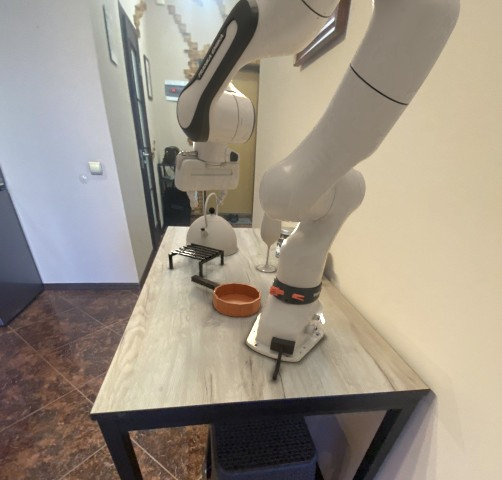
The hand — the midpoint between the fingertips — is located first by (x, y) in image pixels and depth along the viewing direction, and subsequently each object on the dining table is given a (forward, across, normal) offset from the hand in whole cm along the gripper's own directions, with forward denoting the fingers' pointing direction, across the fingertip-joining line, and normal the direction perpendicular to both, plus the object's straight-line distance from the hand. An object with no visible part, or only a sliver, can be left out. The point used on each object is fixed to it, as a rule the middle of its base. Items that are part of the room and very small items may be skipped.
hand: (207, 205), depth 85 cm
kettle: (+27, +22, +24) cm, 43 cm away
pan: (+23, -4, -16) cm, 28 cm away
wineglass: (+24, +26, -6) cm, 36 cm away
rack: (+26, +5, +11) cm, 28 cm away
